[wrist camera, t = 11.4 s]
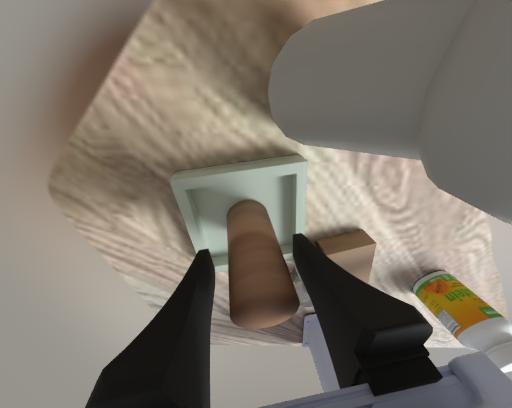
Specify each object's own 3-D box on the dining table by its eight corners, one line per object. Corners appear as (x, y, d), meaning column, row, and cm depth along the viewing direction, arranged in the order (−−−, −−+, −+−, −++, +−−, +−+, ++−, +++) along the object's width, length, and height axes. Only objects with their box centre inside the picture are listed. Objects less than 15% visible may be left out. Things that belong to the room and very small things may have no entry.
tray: (297, 244, 19) (303, 257, 18) (206, 259, 19) (204, 274, 17) (299, 154, 14) (308, 161, 13) (175, 171, 14) (169, 181, 12)
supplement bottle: (453, 265, 26) (561, 347, 17) (441, 288, 28) (529, 368, 20) (416, 275, 26) (506, 361, 17) (407, 297, 28) (481, 380, 20)
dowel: (269, 229, 17) (299, 319, 10) (231, 236, 17) (237, 334, 10) (265, 196, 15) (300, 282, 8) (222, 204, 15) (222, 299, 8)
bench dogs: (313, 280, 23) (324, 303, 20) (290, 285, 23) (298, 308, 20) (317, 238, 19) (331, 260, 17) (290, 243, 19) (299, 266, 17)
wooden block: (354, 269, 24) (367, 286, 21) (316, 278, 24) (325, 296, 21) (360, 227, 20) (376, 243, 18) (315, 238, 20) (326, 255, 18)
